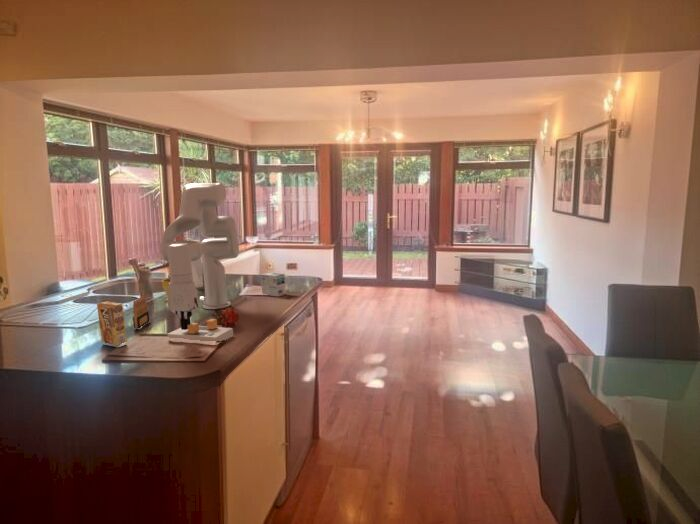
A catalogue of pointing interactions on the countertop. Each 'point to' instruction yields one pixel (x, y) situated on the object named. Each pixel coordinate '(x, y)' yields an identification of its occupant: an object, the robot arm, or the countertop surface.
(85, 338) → the countertop surface
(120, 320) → the candy box
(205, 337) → the switch panel
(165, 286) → the plant pot
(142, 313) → the orange flat piece
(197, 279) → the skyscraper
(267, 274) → the light bulb box
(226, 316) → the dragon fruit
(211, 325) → the switch tab
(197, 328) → the switch tab
